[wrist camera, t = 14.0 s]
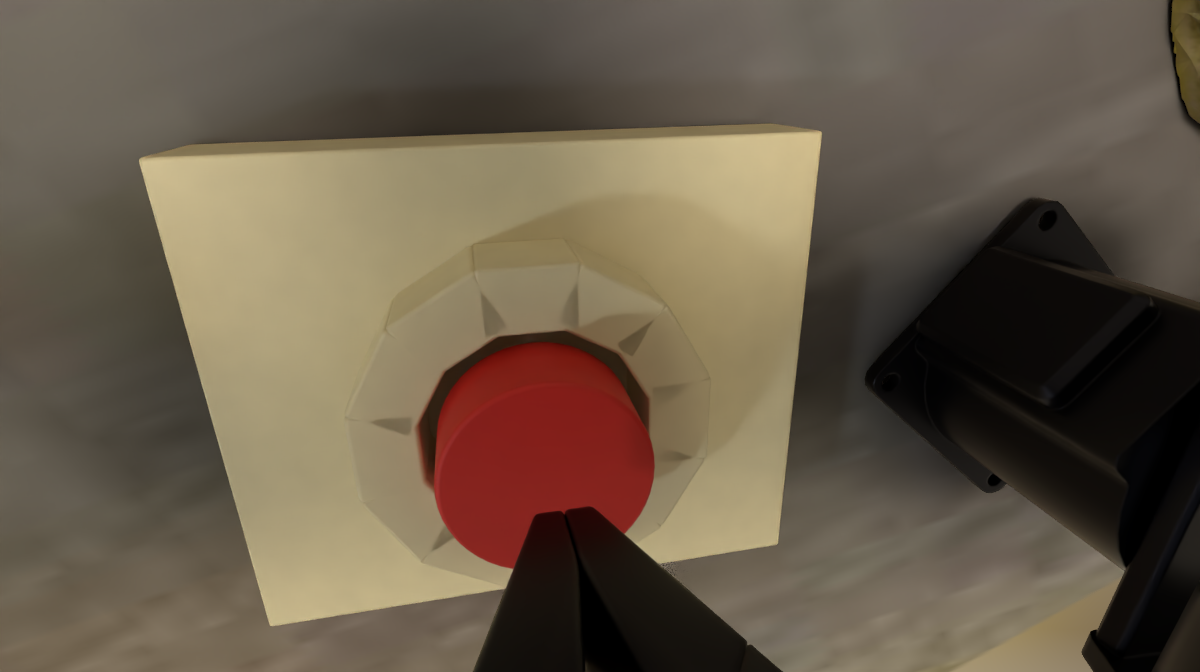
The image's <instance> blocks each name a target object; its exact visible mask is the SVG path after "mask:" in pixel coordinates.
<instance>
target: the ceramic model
mask: <svg viewBox="0 0 1200 672" xmlns="http://www.w3.org/2000/svg"><path fill="white" fill-rule="evenodd" d="M1171 32H1172V33H1173V38H1172V41H1174V42H1175V44H1174V53H1176V54H1177V55H1176V69H1177V75H1178V76H1179V77H1180V88H1181V95H1182V99H1183V100H1184V102H1185V104H1186V107H1187V110H1188V113H1189V115H1190V116H1191V117H1192V118H1193V119H1194V120H1196V121H1197V122H1198V123H1199V124H1200V0H1173V3H1172V21H1171Z"/></svg>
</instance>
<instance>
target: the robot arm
mask: <svg viewBox="0 0 1200 672" xmlns="http://www.w3.org/2000/svg"><path fill="white" fill-rule="evenodd" d="M1042 214H1043V219H1042V221H1041V222H1040V224H1038V223H1039V219H1040V217H1041V216H1042ZM889 374H890V377H889V379H888V381H887V382H885V383H884V384H882V381H883V380H884V378H885V377H886V376H888V375H889ZM865 385H866V387H867V388H868V390H869V391H871V392H872V393H873V394H874V395H875V396H876V397H877V398H878V399H880V400H881V401H882V402H883V403H884V404H885V405H886V406H887V407H888V408H890V409H891V410H892V411H893V412H894V413H895V414H896V415H897V416H899V417H900V418H901V419H902V420H903V421H904V422H905V423H906V424H907V425H909V426H910V427H911V428H912V429H913V430H914V431H915V432H916V433H918V434H919V435H920V436H921V437H922V438H923V439H924V440H925V441H927V442H928V443H929V444H930V445H931V446H932V447H933V448H934V449H935V450H937V451H938V452H939V453H940V454H941V455H942V456H943V457H944V458H946V459H947V460H948V461H949V462H950V463H951V464H952V465H953V466H954V467H956V468H957V469H958V470H959V471H960V472H961V473H962V474H963V475H965V476H966V477H967V478H968V479H969V480H970V481H971V482H972V483H974V484H975V485H976V486H977V487H979V488H980V489H981V490H982V491H984V492H986V493H993V492H996V491H998V490H1000V489H1001V488H1002V487H1004V486H1005V485H1006V484H1008V485H1010V486H1011V487H1012V488H1014V489H1015V490H1016V491H1018V492H1019V493H1020V494H1022V495H1023V496H1024V497H1026V498H1027V499H1028V500H1030V501H1031V502H1032V503H1034V504H1035V505H1037V506H1038V507H1039V508H1041V509H1042V510H1043V511H1045V512H1046V513H1047V514H1049V515H1050V516H1051V517H1053V518H1054V519H1055V520H1057V521H1058V522H1059V523H1061V524H1062V525H1063V526H1065V527H1066V528H1067V529H1069V530H1070V531H1071V532H1073V533H1074V534H1075V535H1077V536H1078V537H1079V538H1081V539H1082V540H1083V541H1085V542H1086V543H1088V544H1089V545H1090V546H1092V547H1093V548H1094V549H1096V550H1097V551H1098V552H1100V553H1101V554H1102V555H1104V556H1105V557H1106V558H1108V559H1109V560H1110V561H1112V562H1113V563H1114V564H1116V565H1117V566H1118V567H1120V568H1121V569H1122V570H1124V571H1125V572H1124V575H1123V577H1122V579H1121V581H1120V583H1119V585H1118V587H1117V590H1116V592H1115V594H1114V596H1113V598H1112V600H1111V602H1110V604H1109V607H1108V609H1107V611H1106V613H1105V615H1104V617H1103V619H1102V621H1101V623H1100V626H1099V628H1098V630H1093V631H1091V632H1090V634H1089V636H1088V638H1087V641H1086V643H1085V645H1084V647H1083V649H1082V655H1083V657H1084V658H1085V660H1086V661H1087V663H1088V664H1089V666H1090V667H1091V669H1092V670H1093V672H1200V302H1196V301H1193V300H1190V299H1187V298H1183V297H1180V296H1177V295H1174V294H1170V293H1167V292H1164V291H1161V290H1157V289H1154V288H1151V287H1148V286H1144V285H1141V284H1138V283H1135V282H1131V281H1128V280H1125V279H1122V278H1118V277H1115V276H1114V274H1113V273H1112V272H1111V270H1110V269H1109V268H1108V266H1107V265H1106V263H1105V262H1104V261H1103V259H1102V258H1101V257H1100V255H1099V254H1098V253H1097V251H1096V250H1095V249H1094V247H1093V246H1092V244H1091V243H1090V242H1089V240H1088V239H1087V238H1086V236H1085V235H1084V234H1083V232H1082V231H1081V229H1080V228H1079V227H1078V225H1077V224H1076V223H1075V221H1074V220H1073V219H1072V217H1071V216H1070V215H1069V213H1068V212H1067V210H1066V209H1065V208H1064V206H1063V205H1062V204H1060V203H1059V202H1058V201H1053V200H1048V199H1042V198H1037V199H1034V200H1031V201H1030V202H1029V203H1027V204H1026V205H1025V206H1024V207H1023V208H1022V209H1021V210H1020V211H1019V212H1018V213H1017V214H1016V215H1015V216H1014V217H1013V218H1012V220H1011V221H1010V222H1009V223H1008V224H1007V225H1006V226H1005V227H1004V228H1003V229H1002V230H1001V231H1000V232H999V233H998V234H997V235H996V236H995V237H994V238H993V239H992V240H991V241H990V243H989V244H988V245H987V246H986V247H985V248H984V249H983V250H982V251H981V252H980V253H979V254H978V255H977V256H976V257H975V258H974V259H973V260H972V261H971V262H970V263H969V264H968V265H967V267H966V268H965V269H964V270H963V271H962V272H961V273H960V274H959V275H958V276H957V277H956V278H955V279H954V280H953V281H952V282H951V283H950V284H949V285H948V286H947V287H946V288H945V290H944V291H943V292H942V293H941V294H940V295H939V296H938V297H937V298H936V299H935V300H934V301H933V302H932V303H931V304H930V305H929V306H928V307H927V308H926V309H925V310H924V311H923V312H922V314H921V315H920V316H919V317H918V318H917V319H916V320H915V321H914V322H913V323H912V324H911V325H910V326H909V327H908V328H907V329H906V330H905V331H904V332H903V333H902V334H901V335H900V336H899V338H898V339H897V340H896V341H895V342H894V343H893V344H892V345H891V346H890V347H889V348H888V349H887V350H886V351H885V352H884V353H883V354H882V355H881V356H880V357H879V358H878V359H877V361H876V362H875V363H874V364H873V365H872V366H871V367H870V368H869V370H868V371H867V373H866V377H865ZM473 672H783V671H781V670H780V669H779V668H778V667H776V666H775V665H774V664H773V663H772V662H771V661H769V660H768V659H767V658H766V657H765V656H764V655H762V654H761V653H760V652H759V651H758V650H757V649H756V648H754V647H753V646H752V645H747V641H746V640H745V639H744V638H743V637H742V636H740V635H739V634H738V633H737V632H736V631H735V630H734V629H732V628H731V627H730V626H729V625H728V624H727V623H726V622H724V621H723V620H722V619H721V618H720V617H719V616H718V615H716V614H715V613H714V612H713V611H712V610H711V609H710V608H708V607H707V606H706V605H705V604H704V603H703V602H701V601H700V600H699V599H698V598H697V597H696V596H695V595H693V594H692V593H691V592H690V591H689V590H688V589H687V588H685V587H684V586H683V585H682V584H681V583H680V582H679V581H677V580H676V579H675V578H674V577H673V576H672V575H671V574H669V573H668V572H667V571H666V570H665V569H664V568H663V567H661V566H660V565H659V564H658V563H657V562H656V561H655V560H653V559H652V558H651V557H650V556H649V555H648V554H647V553H645V552H644V551H643V550H642V549H641V548H640V547H639V546H637V545H636V544H635V543H634V542H633V541H632V540H631V539H629V538H628V537H627V536H626V535H625V534H624V533H623V532H621V531H620V530H619V529H618V528H617V527H616V526H615V525H613V524H612V523H611V522H610V521H609V520H608V519H607V518H605V517H604V516H603V515H602V514H601V513H600V512H599V511H597V510H596V509H595V508H594V507H591V506H587V507H580V508H573V509H568V510H566V511H565V513H563V512H561V511H552V512H545V513H538V514H536V515H535V516H534V518H533V520H532V522H531V525H530V527H529V530H528V532H527V535H526V538H525V540H524V543H523V545H522V548H521V550H520V553H519V555H518V558H517V561H516V563H515V566H514V568H513V571H512V573H511V576H510V578H509V581H508V583H507V586H506V589H505V591H504V594H503V596H502V599H501V601H500V604H499V606H498V609H497V612H496V614H495V617H494V619H493V622H492V624H491V627H490V629H489V632H488V634H487V637H486V640H485V642H484V645H483V647H482V650H481V652H480V655H479V657H478V660H477V662H476V665H475V668H474V670H473Z"/></svg>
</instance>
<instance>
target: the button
mask: <svg viewBox="0 0 1200 672" xmlns="http://www.w3.org/2000/svg"><path fill="white" fill-rule="evenodd" d="M654 470H655V460H654V451H653V447H652V442H651V440H650V437H649V435H648V432H647V430H646V428H645V426H644V424H643V422H642V421H641V419H640V417H639V415H638V413H637V411H636V409H635V407H634V405H633V404H632V402H631V400H630V398H629V396H628V394H627V392H626V390H625V389H624V387H623V385H622V383H621V382H620V380H619V378H618V377H617V376H616V375H615V373H614V372H613V371H612V370H611V369H610V368H609V367H608V366H607V365H606V364H605V363H604V362H602V361H601V360H599V359H598V358H596V357H595V356H593V355H591V354H590V353H588V352H586V351H584V350H581V349H578V348H576V347H573V346H569V345H565V344H560V343H551V342H531V343H525V344H518V345H515V346H511V347H508V348H504V349H502V350H500V351H497V352H495V353H492V354H491V355H489V356H487V357H485V358H484V359H482V360H480V361H479V362H477V363H476V364H475V365H473V366H472V367H471V368H469V369H468V370H467V371H466V372H465V373H464V374H463V375H462V376H461V377H460V378H459V380H458V381H457V382H456V383H455V385H454V386H453V387H452V389H451V390H450V392H449V394H448V395H447V397H446V399H445V401H444V404H443V406H442V408H441V412H440V416H439V419H438V427H437V440H436V457H435V474H434V492H435V499H436V504H437V508H438V511H439V513H440V516H441V518H442V520H443V522H444V523H445V525H446V527H447V528H448V530H449V531H450V533H451V534H452V535H453V536H454V537H455V539H456V540H457V541H458V542H459V543H460V544H461V545H462V546H464V547H465V548H466V549H467V550H468V551H470V552H471V553H473V554H474V555H476V556H477V557H479V558H481V559H483V560H485V561H487V562H490V563H493V564H495V565H498V566H501V567H506V568H510V569H513V568H514V566H515V563H516V561H517V558H518V555H519V553H520V550H521V548H522V545H523V543H524V540H525V538H526V535H527V532H528V530H529V527H530V525H531V522H532V520H533V518H534V516H535V515H536V514H538V513H545V512H552V511H561V512H563V513H565V511H566V510H568V509H573V508H580V507H587V506H591V507H594V508H595V509H596V510H597V511H599V512H600V513H601V514H602V515H603V516H604V517H605V518H607V519H608V520H609V521H610V522H611V523H612V524H613V525H615V526H616V527H617V528H618V529H619V530H620V531H621V532H623V533H624V534H625V533H626V532H627V531H628V530H629V528H630V527H631V526H632V525H633V524H634V522H635V521H636V520H637V518H638V517H639V515H640V514H641V512H642V510H643V508H644V507H645V505H646V503H647V500H648V497H649V495H650V492H651V488H652V484H653V480H654Z"/></svg>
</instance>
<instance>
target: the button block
mask: <svg viewBox="0 0 1200 672" xmlns="http://www.w3.org/2000/svg"><path fill="white" fill-rule="evenodd" d="M821 138H822V133H821V132H820V131H817V130H811V129H805V128H798V127H792V126H785V125H779V124H773V123H768V124H740V125H713V126H685V127H658V128H630V129H602V130H575V131H547V132H520V133H492V134H464V135H437V136H409V137H382V138H354V139H326V140H299V141H271V142H244V143H216V144H190V145H187V146H183V147H179V148H175V149H171V150H168V151H164V152H160V153H156V154H152V155H149V156H145V157H142V158H140V159H139V163H140V167H141V170H142V174H143V178H144V181H145V185H146V188H147V192H148V195H149V199H150V202H151V206H152V209H153V213H154V217H155V220H156V224H157V227H158V231H159V234H160V238H161V241H162V245H163V248H164V252H165V256H166V259H167V263H168V266H169V270H170V273H171V277H172V280H173V284H174V288H175V291H176V295H177V298H178V302H179V305H180V309H181V312H182V316H183V319H184V323H185V327H186V330H187V334H188V337H189V341H190V344H191V348H192V351H193V355H194V358H195V362H196V366H197V369H198V373H199V376H200V380H201V383H202V387H203V390H204V394H205V397H206V401H207V405H208V408H209V412H210V415H211V419H212V422H213V426H214V429H215V433H216V436H217V440H218V444H219V447H220V451H221V454H222V458H223V461H224V465H225V468H226V472H227V475H228V479H229V483H230V486H231V490H232V493H233V497H234V500H235V504H236V507H237V511H238V514H239V518H240V522H241V525H242V529H243V532H244V536H245V539H246V543H247V546H248V550H249V553H250V557H251V561H252V564H253V568H254V571H255V575H256V578H257V582H258V585H259V589H260V592H261V596H262V600H263V603H264V607H265V610H266V614H267V617H268V621H269V624H270V626H277V625H283V624H289V623H295V622H301V621H308V620H314V619H320V618H326V617H332V616H339V615H345V614H351V613H357V612H363V611H369V610H376V609H382V608H388V607H394V606H400V605H407V604H413V603H419V602H425V601H431V600H438V599H444V598H450V597H456V596H462V595H469V594H475V593H481V592H487V591H493V590H499V589H506V586H507V583H508V581H509V578H510V576H511V573H512V571H513V569H510V568H506V567H501V566H498V565H495V564H493V563H490V562H487V561H485V560H483V559H481V558H479V557H477V556H476V555H474V554H473V553H471V552H470V551H468V550H467V549H466V548H465V547H464V546H462V545H461V544H460V543H459V542H458V541H457V540H456V539H455V537H454V536H453V535H452V534H451V533H450V531H449V530H448V528H447V527H446V525H445V523H444V522H443V520H442V518H441V516H440V513H439V511H438V508H437V504H436V499H435V492H434V474H435V457H436V440H437V427H438V419H439V416H440V412H441V408H442V406H443V404H444V401H445V399H446V397H447V395H448V394H449V392H450V390H451V389H452V387H453V386H454V385H455V383H456V382H457V381H458V380H459V378H460V377H461V376H462V375H463V374H464V373H465V372H466V371H467V370H468V369H469V368H471V367H472V366H473V365H475V364H476V363H477V362H479V361H480V360H482V359H484V358H485V357H487V356H489V355H491V354H492V353H495V352H497V351H500V350H502V349H504V348H508V347H511V346H515V345H518V344H525V343H531V342H551V343H560V344H565V345H569V346H573V347H576V348H578V349H581V350H584V351H586V352H588V353H590V354H591V355H593V356H595V357H596V358H598V359H599V360H601V361H602V362H604V363H605V364H606V365H607V366H608V367H609V368H610V369H611V370H612V371H613V372H614V373H615V375H616V376H617V377H618V378H619V380H620V382H621V383H622V385H623V387H624V389H625V390H626V392H627V394H628V396H629V398H630V400H631V402H632V404H633V405H634V407H635V409H636V411H637V413H638V415H639V417H640V419H641V421H642V422H643V424H644V426H645V428H646V430H647V432H648V435H649V437H650V440H651V442H652V447H653V451H654V460H655V470H654V480H653V484H652V488H651V492H650V495H649V497H648V500H647V503H646V505H645V507H644V508H643V510H642V512H641V514H640V515H639V517H638V518H637V520H636V521H635V522H634V524H633V525H632V526H631V527H630V528H629V530H628V531H627V532H626V533H625V535H626V536H627V537H628V538H629V539H631V540H632V541H633V542H634V543H635V544H636V545H637V546H639V547H640V548H641V549H642V550H643V551H644V552H645V553H647V554H648V555H649V556H650V557H651V558H652V559H653V560H655V561H656V562H657V563H658V564H660V563H667V562H673V561H679V560H685V559H691V558H698V557H704V556H710V555H716V554H722V553H728V552H735V551H741V550H747V549H753V548H759V547H766V546H772V545H776V544H778V538H779V528H780V519H781V510H782V500H783V491H784V482H785V473H786V463H787V454H788V445H789V435H790V426H791V417H792V408H793V398H794V389H795V380H796V370H797V361H798V352H799V343H800V333H801V324H802V315H803V305H804V296H805V287H806V278H807V268H808V259H809V250H810V240H811V231H812V222H813V212H814V203H815V194H816V185H817V175H818V166H819V157H820V147H821Z"/></svg>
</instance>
